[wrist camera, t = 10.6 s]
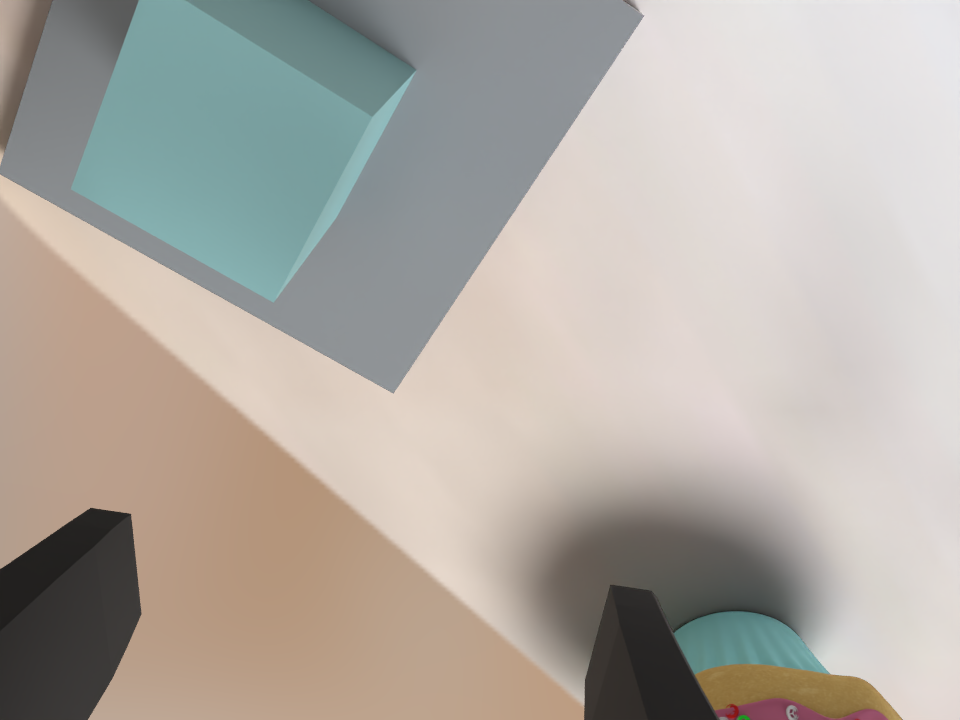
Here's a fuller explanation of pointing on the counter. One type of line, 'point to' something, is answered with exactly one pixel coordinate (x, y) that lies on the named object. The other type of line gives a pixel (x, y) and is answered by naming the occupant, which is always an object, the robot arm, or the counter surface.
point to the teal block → (239, 130)
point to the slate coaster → (387, 173)
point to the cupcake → (771, 673)
